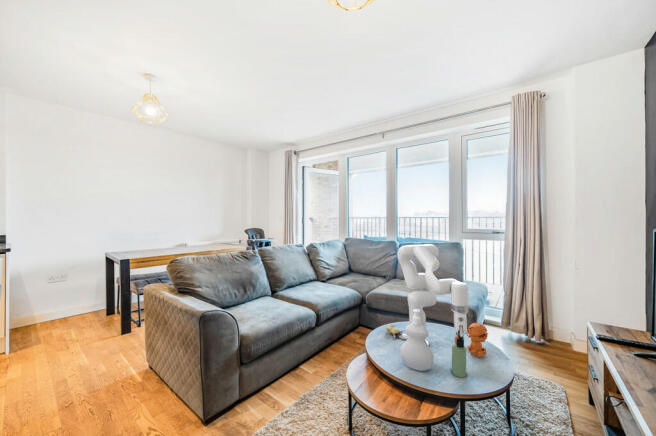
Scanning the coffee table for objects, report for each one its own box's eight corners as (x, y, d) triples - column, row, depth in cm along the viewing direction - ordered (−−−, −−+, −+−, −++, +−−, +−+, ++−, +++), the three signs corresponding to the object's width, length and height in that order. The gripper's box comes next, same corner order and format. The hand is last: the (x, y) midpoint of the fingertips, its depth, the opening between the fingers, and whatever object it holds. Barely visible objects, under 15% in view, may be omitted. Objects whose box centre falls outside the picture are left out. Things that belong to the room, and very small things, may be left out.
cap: (464, 345, 129) (464, 338, 129) (455, 344, 131) (455, 337, 131) (463, 342, 133) (463, 335, 133) (454, 340, 134) (454, 334, 134)
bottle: (451, 375, 131) (452, 338, 130) (451, 368, 137) (452, 333, 136) (466, 378, 128) (467, 341, 128) (465, 371, 134) (466, 335, 133)
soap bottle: (436, 366, 138) (436, 309, 138) (431, 377, 129) (431, 317, 128) (404, 356, 148) (404, 304, 147) (396, 366, 138) (396, 310, 138)
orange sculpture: (492, 360, 143) (492, 327, 143) (470, 358, 146) (470, 325, 145) (484, 350, 154) (484, 319, 154) (464, 348, 156) (464, 318, 156)
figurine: (409, 340, 172) (390, 329, 182) (411, 332, 171) (391, 321, 181) (401, 345, 165) (381, 334, 176) (402, 337, 164) (382, 326, 175)
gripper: (471, 314, 122) (471, 354, 123) (465, 303, 138) (465, 338, 138) (453, 313, 125) (453, 352, 125) (449, 301, 141) (449, 336, 141)
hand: (459, 344), depth 132 cm, fingers closed on cap, 3 cm apart
